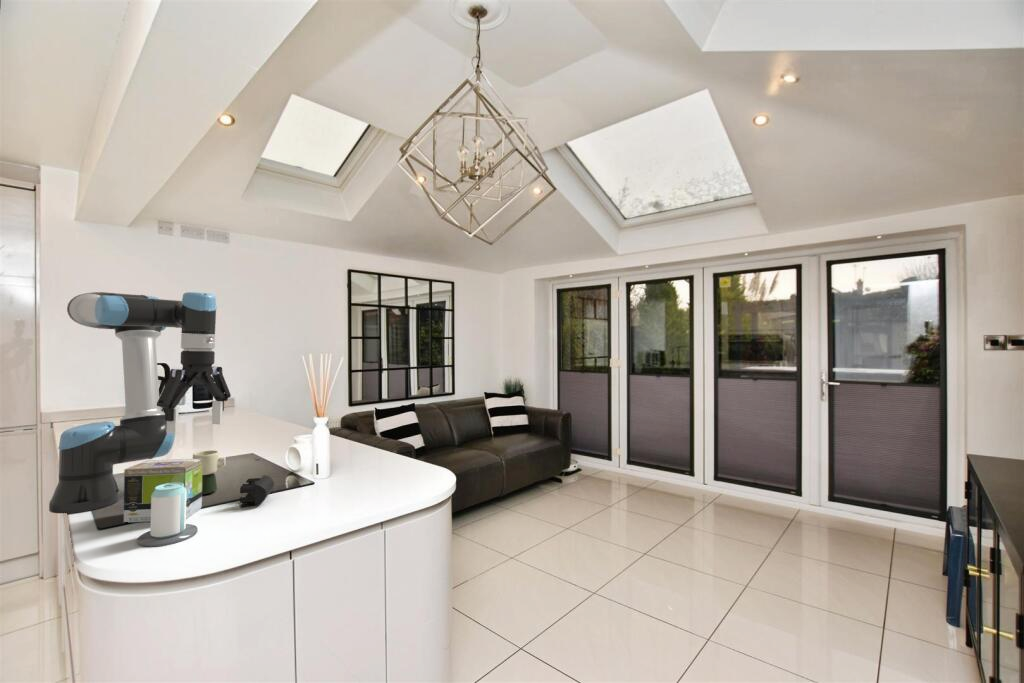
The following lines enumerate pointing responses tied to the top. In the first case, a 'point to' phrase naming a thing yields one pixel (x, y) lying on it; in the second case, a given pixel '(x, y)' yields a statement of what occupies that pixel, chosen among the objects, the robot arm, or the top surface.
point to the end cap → (256, 491)
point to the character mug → (209, 468)
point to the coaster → (151, 541)
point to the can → (168, 510)
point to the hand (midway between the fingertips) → (195, 428)
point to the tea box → (156, 473)
